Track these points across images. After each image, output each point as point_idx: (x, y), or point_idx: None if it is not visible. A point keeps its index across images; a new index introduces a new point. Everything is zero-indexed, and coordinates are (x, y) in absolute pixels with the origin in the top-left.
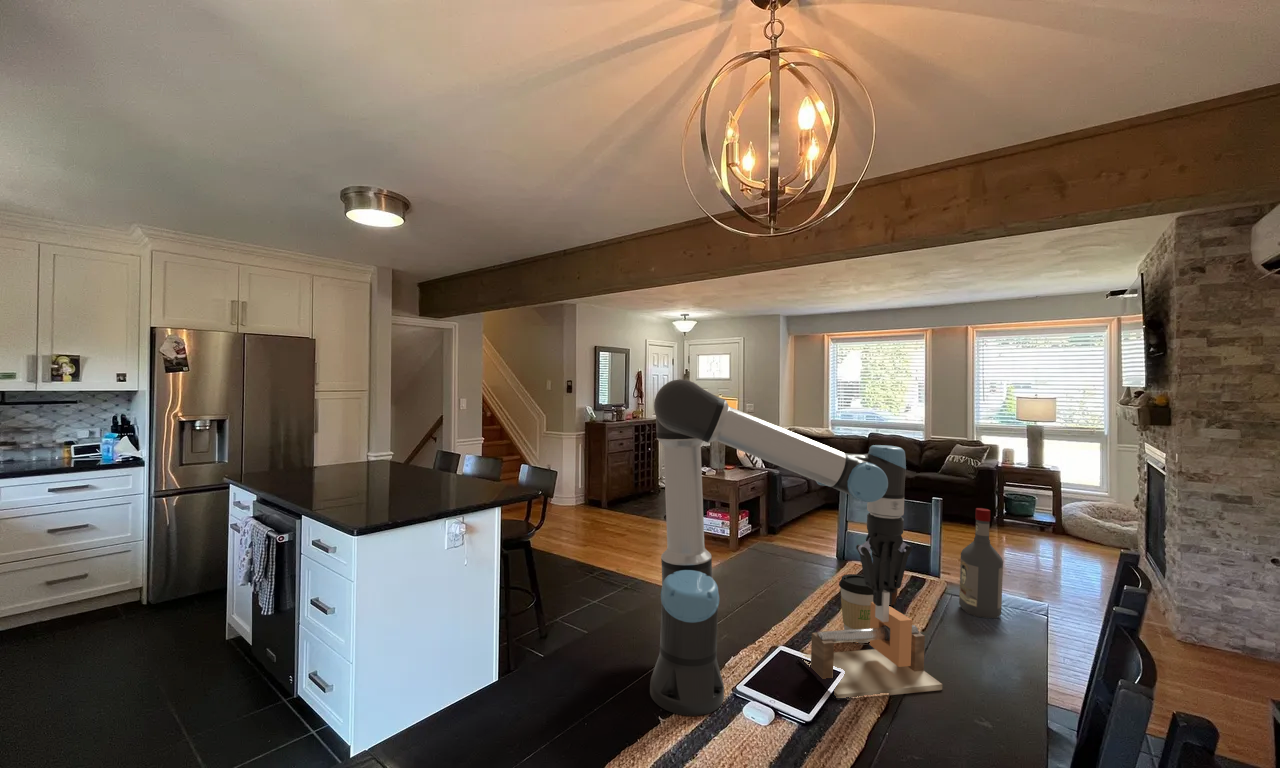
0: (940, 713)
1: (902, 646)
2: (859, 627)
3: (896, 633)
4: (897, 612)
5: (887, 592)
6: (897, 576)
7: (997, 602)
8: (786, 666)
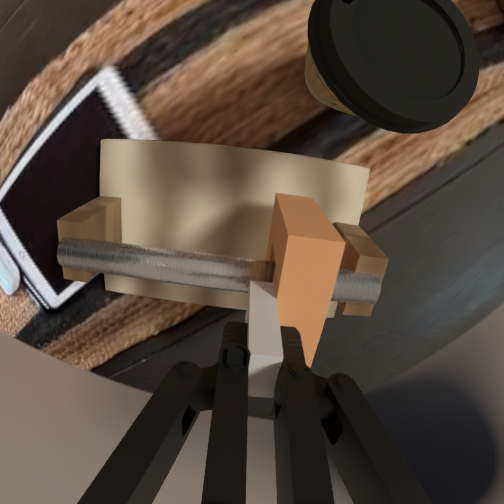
0: None
1: None
2: (324, 102)
3: None
4: (310, 336)
5: (262, 396)
6: (331, 451)
7: None
8: (73, 158)
